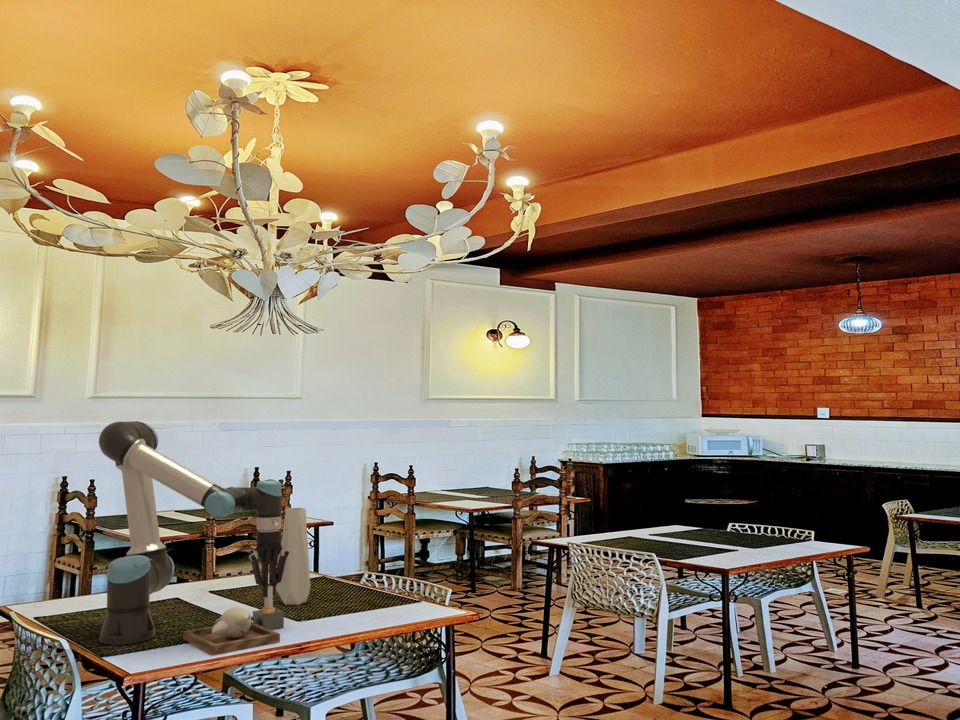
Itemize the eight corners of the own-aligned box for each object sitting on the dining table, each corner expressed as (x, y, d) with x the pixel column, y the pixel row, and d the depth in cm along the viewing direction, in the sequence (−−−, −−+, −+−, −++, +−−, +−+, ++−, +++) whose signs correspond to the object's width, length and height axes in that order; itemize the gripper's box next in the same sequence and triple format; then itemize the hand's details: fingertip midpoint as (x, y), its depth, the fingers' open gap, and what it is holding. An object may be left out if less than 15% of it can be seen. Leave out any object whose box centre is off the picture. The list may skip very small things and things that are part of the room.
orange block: (265, 626, 252) (265, 610, 253) (259, 624, 255) (259, 607, 256) (277, 624, 255) (277, 608, 255) (271, 622, 258) (271, 605, 258)
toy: (225, 646, 247) (207, 648, 233) (216, 618, 250) (199, 618, 235) (266, 629, 248) (252, 629, 234) (258, 600, 251) (243, 599, 237)
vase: (300, 608, 282) (301, 510, 284) (271, 605, 286) (272, 510, 288) (319, 600, 293) (319, 507, 296) (291, 598, 297) (292, 506, 300)
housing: (262, 631, 250) (262, 615, 250) (252, 627, 255) (252, 611, 256) (283, 627, 255) (283, 611, 255) (273, 623, 260) (273, 607, 260)
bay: (212, 655, 225) (212, 646, 225) (183, 639, 242) (183, 631, 242) (279, 642, 238) (279, 633, 238) (247, 628, 255) (247, 620, 255)
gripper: (254, 533, 250) (254, 612, 248) (293, 529, 259) (293, 606, 257) (244, 531, 256) (243, 608, 254) (282, 527, 264) (282, 602, 262)
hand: (268, 607), depth 255 cm, fingers closed
